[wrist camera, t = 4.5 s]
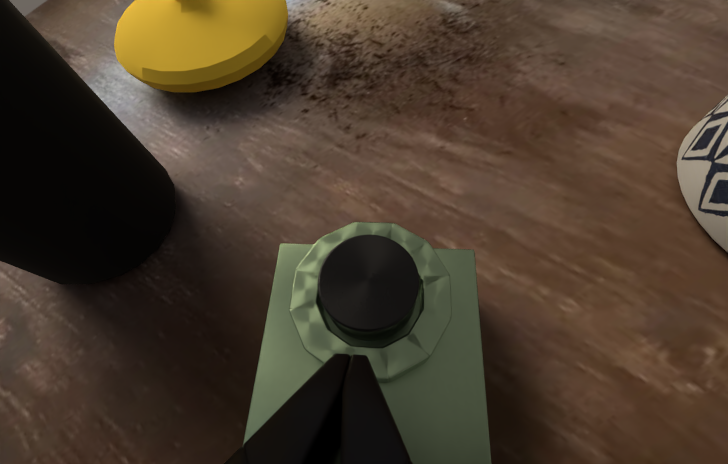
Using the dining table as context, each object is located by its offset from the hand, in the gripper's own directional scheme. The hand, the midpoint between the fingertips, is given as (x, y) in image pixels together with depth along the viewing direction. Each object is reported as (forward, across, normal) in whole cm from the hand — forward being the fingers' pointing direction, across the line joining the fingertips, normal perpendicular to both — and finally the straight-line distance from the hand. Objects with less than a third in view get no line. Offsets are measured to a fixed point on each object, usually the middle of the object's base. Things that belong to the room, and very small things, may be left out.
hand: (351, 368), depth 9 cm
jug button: (+7, 0, +2) cm, 7 cm away
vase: (+30, +17, -11) cm, 36 cm away
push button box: (+10, 0, +8) cm, 13 cm away
